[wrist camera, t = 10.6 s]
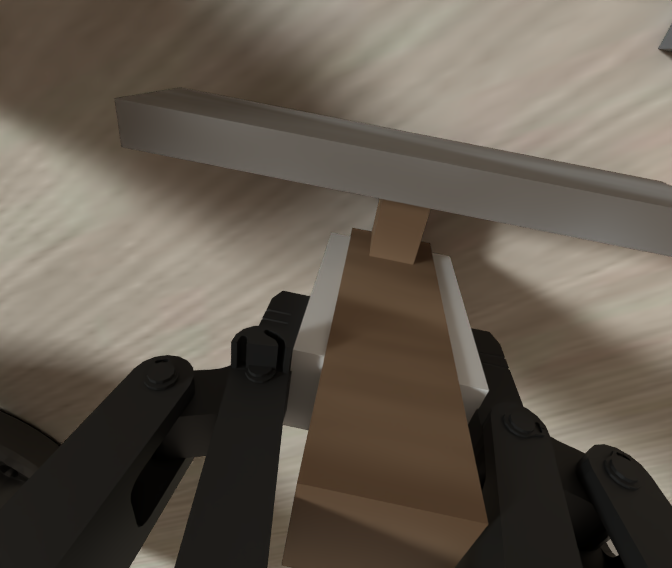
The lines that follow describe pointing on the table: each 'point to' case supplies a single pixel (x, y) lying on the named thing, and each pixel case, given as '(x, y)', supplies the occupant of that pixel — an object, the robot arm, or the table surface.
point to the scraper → (393, 307)
